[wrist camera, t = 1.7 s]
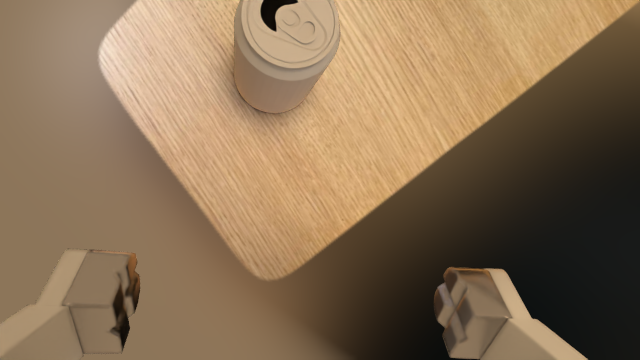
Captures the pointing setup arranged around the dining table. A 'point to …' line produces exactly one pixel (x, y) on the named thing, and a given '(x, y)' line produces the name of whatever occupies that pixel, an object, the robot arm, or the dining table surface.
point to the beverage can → (282, 50)
